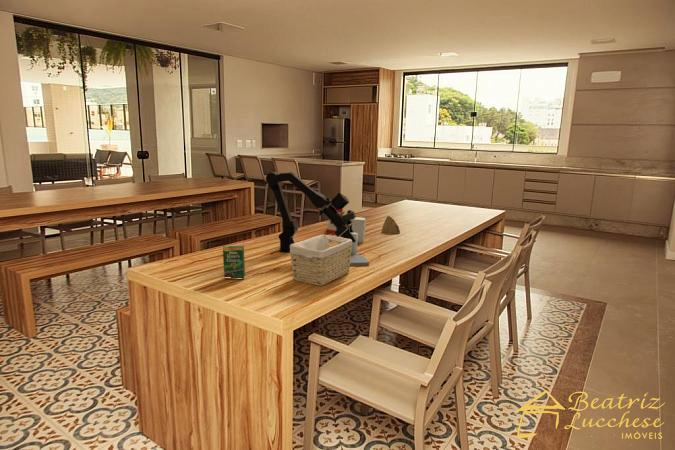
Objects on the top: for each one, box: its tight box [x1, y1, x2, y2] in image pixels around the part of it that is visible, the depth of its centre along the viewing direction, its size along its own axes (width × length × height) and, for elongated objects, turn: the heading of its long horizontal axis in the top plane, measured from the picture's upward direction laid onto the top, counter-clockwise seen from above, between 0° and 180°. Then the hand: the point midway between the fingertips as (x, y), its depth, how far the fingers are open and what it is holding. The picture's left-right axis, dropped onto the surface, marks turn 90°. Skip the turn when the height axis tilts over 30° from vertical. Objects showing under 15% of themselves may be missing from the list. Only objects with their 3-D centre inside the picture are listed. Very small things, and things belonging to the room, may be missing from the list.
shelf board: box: [350, 254, 370, 267], centre depth 199 cm, size 14×12×2 cm
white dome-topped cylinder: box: [351, 232, 359, 255], centre depth 209 cm, size 4×4×10 cm
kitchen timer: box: [326, 208, 345, 234], centre depth 262 cm, size 14×14×15 cm
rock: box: [380, 215, 401, 234], centre depth 261 cm, size 11×9×10 cm
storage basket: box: [289, 234, 352, 287], centre depth 176 cm, size 24×16×15 cm
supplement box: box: [350, 217, 367, 244], centre depth 238 cm, size 7×7×13 cm
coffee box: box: [222, 245, 246, 279], centre depth 170 cm, size 8×3×13 cm, turn 90°
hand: (355, 240), depth 208 cm, fingers closed on white dome-topped cylinder, 4 cm apart
